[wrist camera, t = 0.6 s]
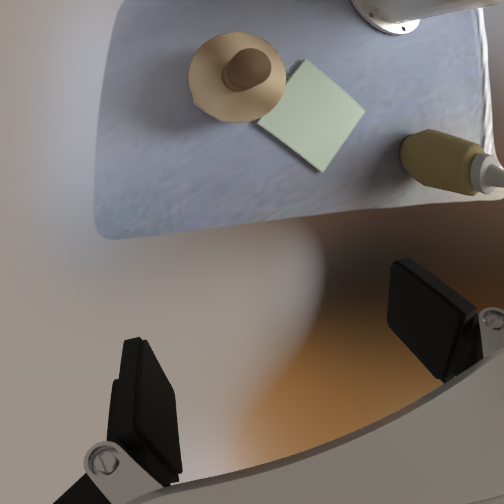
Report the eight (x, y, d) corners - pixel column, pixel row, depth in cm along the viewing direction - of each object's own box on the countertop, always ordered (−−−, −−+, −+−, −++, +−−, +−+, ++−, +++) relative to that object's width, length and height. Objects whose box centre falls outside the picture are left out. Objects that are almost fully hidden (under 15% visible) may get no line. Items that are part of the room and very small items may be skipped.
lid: (226, 18, 23) (237, -4, 18) (300, 70, 27) (326, 61, 22) (168, 89, 25) (167, 81, 20) (248, 140, 29) (264, 144, 24)
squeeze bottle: (420, 117, 37) (522, 133, 21) (437, 163, 41) (531, 194, 25) (385, 143, 38) (491, 168, 21) (405, 190, 41) (501, 233, 25)
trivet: (303, 59, 31) (306, 58, 30) (361, 111, 35) (365, 111, 34) (255, 123, 33) (257, 123, 32) (320, 171, 37) (322, 172, 36)
